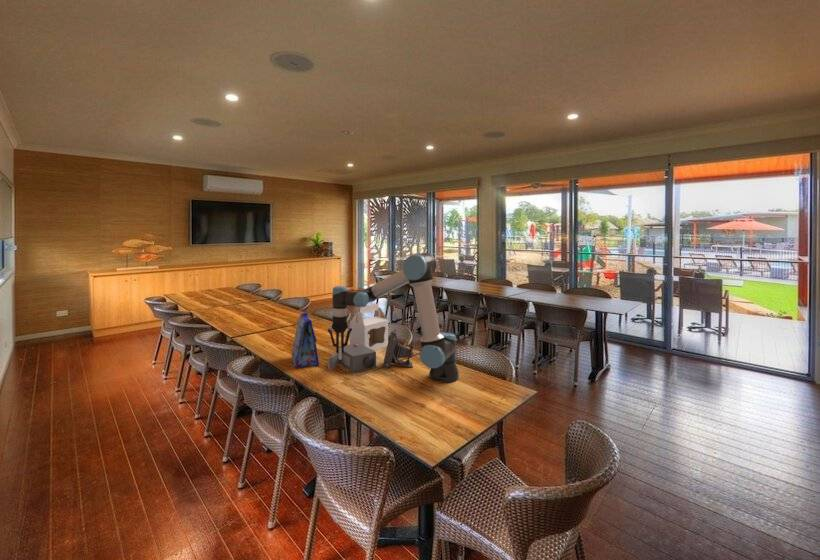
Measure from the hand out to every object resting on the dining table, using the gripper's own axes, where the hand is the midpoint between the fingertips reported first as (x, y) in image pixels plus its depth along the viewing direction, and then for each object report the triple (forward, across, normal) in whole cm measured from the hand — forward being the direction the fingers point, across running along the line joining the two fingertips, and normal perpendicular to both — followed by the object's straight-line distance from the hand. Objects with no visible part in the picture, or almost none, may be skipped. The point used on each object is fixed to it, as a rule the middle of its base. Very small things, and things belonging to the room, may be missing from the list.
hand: (340, 358), depth 207 cm
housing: (+6, -10, -6) cm, 13 cm away
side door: (+5, +3, -3) cm, 7 cm away
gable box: (+7, -22, -37) cm, 44 cm away
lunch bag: (+7, +18, -20) cm, 28 cm away
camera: (+6, -32, 0) cm, 33 cm away
